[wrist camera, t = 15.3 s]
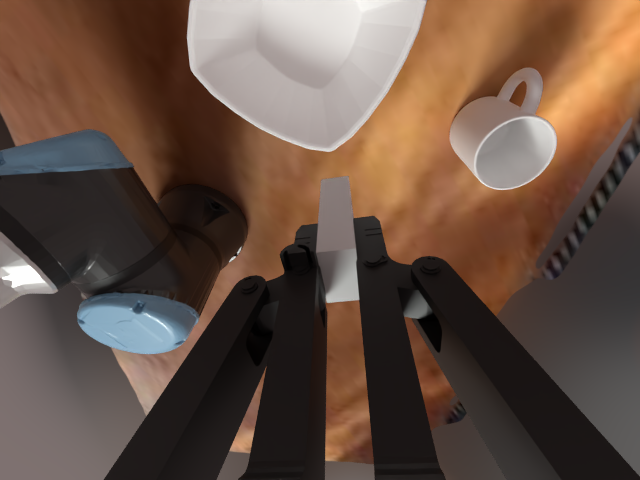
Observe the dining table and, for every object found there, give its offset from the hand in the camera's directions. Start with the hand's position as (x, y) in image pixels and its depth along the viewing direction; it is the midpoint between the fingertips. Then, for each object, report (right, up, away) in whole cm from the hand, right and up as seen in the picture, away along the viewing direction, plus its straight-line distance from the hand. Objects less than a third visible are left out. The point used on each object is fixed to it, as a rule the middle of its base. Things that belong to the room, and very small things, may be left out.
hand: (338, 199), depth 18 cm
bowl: (-2, +23, +19) cm, 30 cm away
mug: (+21, +14, +24) cm, 35 cm away
